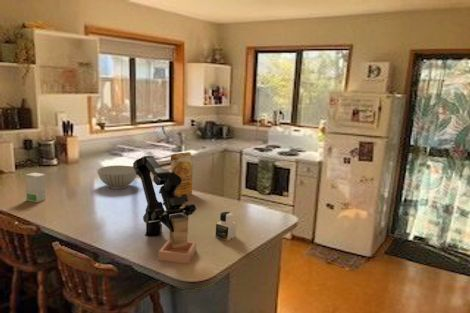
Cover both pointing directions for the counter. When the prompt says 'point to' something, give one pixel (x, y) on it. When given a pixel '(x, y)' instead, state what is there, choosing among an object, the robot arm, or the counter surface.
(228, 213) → the medicine bottle
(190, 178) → the pancake mix bag
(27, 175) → the skincare box
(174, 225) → the brown rectangular block
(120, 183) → the decorative bowl
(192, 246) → the pink square tray
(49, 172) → the counter surface
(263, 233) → the counter surface
